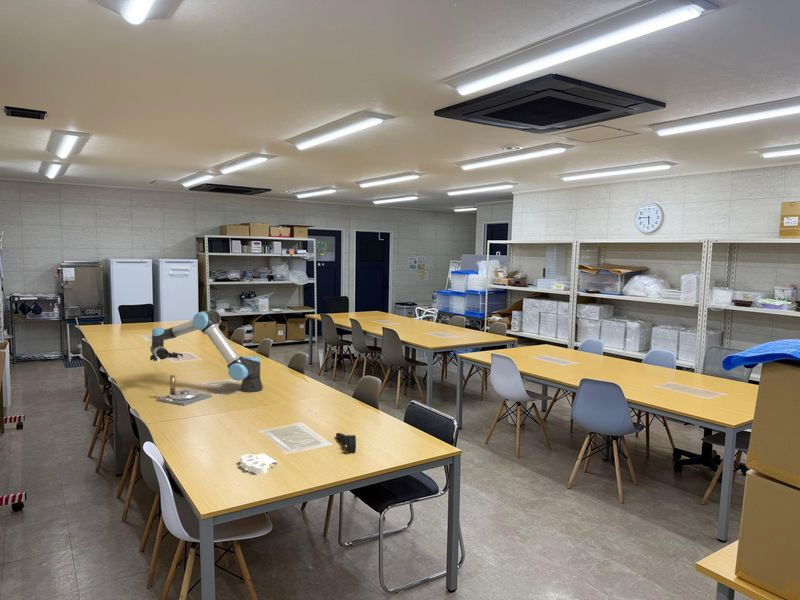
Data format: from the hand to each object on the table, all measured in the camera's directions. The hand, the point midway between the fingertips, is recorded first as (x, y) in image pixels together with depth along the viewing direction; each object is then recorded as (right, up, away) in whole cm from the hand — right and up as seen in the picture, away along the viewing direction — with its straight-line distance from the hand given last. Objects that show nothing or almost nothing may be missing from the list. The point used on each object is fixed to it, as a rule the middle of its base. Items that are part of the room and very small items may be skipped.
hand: (170, 359), depth 344 cm
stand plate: (+10, -25, -2) cm, 27 cm away
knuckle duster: (+86, -36, -108) cm, 142 cm away
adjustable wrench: (+122, -35, -79) cm, 150 cm away
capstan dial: (+10, -24, -2) cm, 26 cm away
